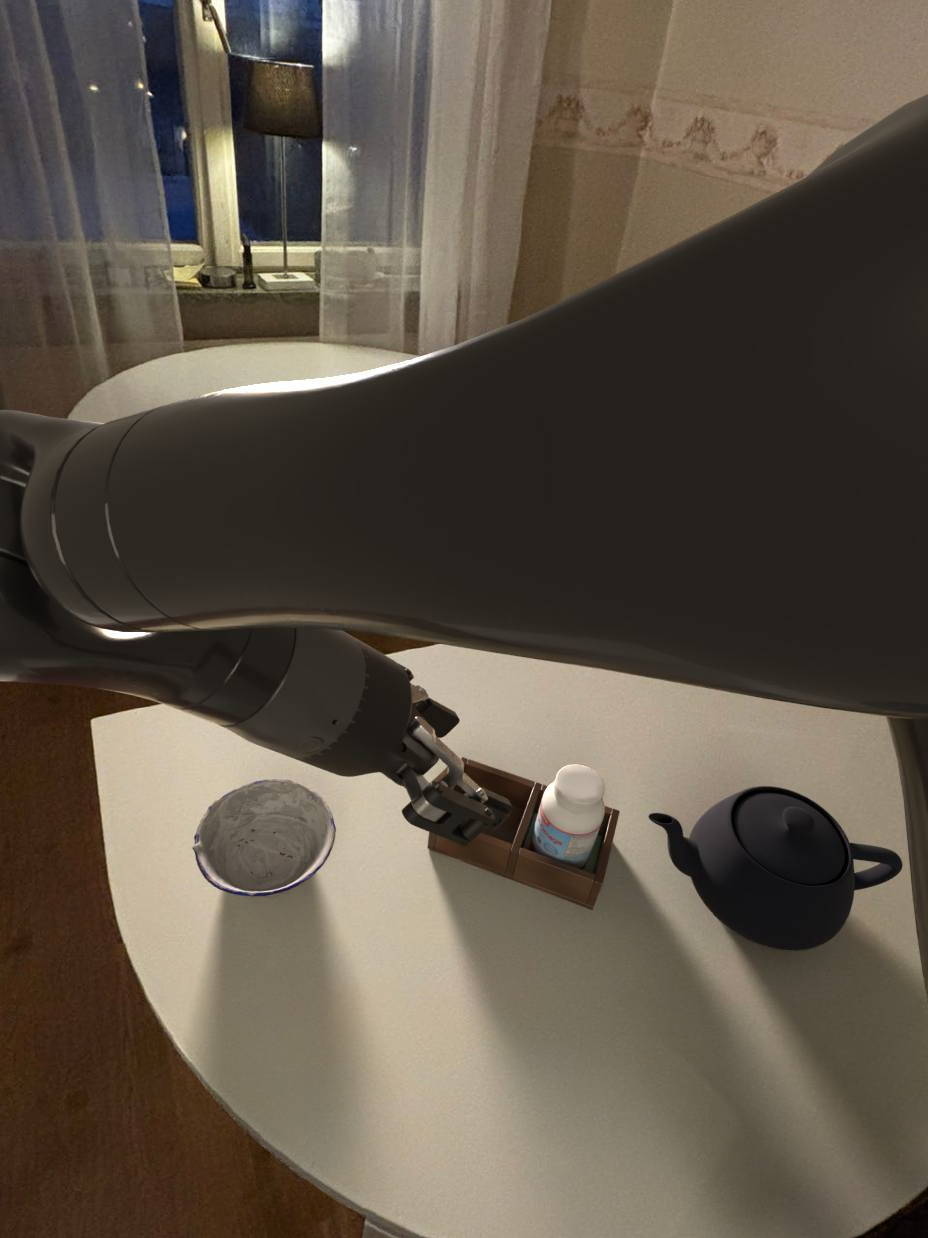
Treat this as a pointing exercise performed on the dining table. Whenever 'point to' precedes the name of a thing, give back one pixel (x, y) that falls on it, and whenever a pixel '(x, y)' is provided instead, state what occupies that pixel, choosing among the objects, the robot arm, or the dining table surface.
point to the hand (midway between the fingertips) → (474, 768)
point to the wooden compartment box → (528, 841)
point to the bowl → (264, 838)
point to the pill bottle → (570, 816)
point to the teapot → (775, 866)
